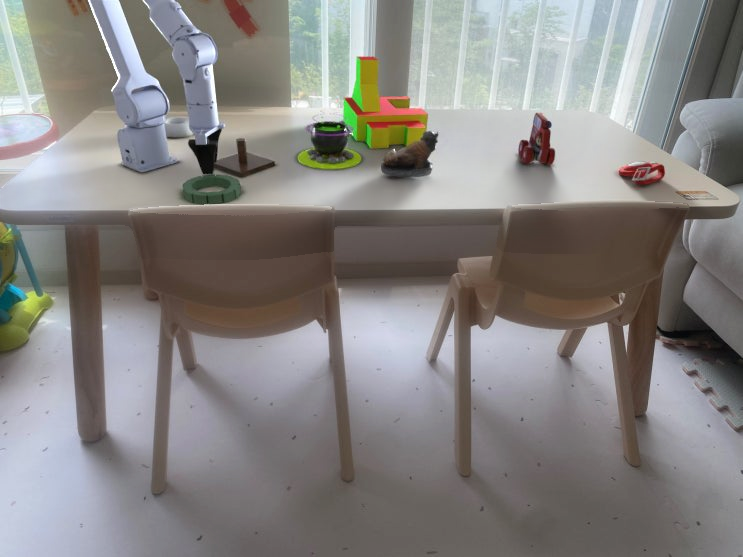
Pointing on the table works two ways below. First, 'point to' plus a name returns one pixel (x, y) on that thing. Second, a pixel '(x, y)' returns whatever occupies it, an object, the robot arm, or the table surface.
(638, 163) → the tracker holder
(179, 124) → the donut
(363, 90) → the building blocks toy
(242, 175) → the post
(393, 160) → the brown cat figurine
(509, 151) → the table surface
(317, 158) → the toy cauldron
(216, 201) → the ring
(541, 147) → the toy fire truck
